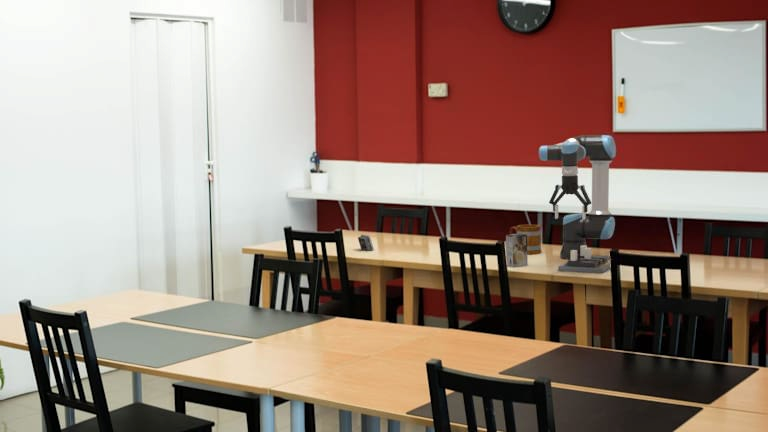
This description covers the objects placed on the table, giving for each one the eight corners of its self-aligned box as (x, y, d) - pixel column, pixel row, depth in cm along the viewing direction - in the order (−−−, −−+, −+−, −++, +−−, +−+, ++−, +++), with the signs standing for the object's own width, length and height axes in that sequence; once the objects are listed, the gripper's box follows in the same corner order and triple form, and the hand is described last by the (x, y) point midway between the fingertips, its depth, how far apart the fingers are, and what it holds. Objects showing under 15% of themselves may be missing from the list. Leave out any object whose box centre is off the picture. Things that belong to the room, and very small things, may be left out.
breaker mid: (586, 257, 513) (586, 248, 512) (591, 258, 511) (590, 248, 511) (584, 258, 510) (584, 248, 509) (589, 259, 509) (589, 249, 508)
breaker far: (582, 255, 522) (582, 245, 521) (586, 255, 520) (586, 245, 520) (580, 255, 519) (580, 246, 518) (585, 256, 518) (585, 246, 517)
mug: (546, 252, 563) (546, 225, 562) (531, 255, 554) (531, 228, 552) (517, 249, 577) (517, 223, 576) (502, 252, 568) (502, 225, 566)
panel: (574, 262, 528) (574, 254, 527) (616, 264, 517) (616, 256, 517) (558, 271, 505) (558, 262, 504) (601, 273, 495) (601, 264, 494)
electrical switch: (374, 250, 588) (372, 235, 586) (366, 252, 585) (364, 236, 584) (366, 248, 596) (364, 233, 594) (358, 250, 593) (356, 235, 592)
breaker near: (572, 259, 508) (572, 249, 507) (577, 260, 507) (577, 250, 506) (570, 260, 505) (570, 250, 504) (575, 261, 504) (575, 251, 503)
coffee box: (520, 263, 530) (520, 232, 528) (527, 265, 524) (527, 234, 522) (505, 265, 525) (505, 234, 523) (513, 267, 520) (512, 235, 518)
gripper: (542, 175, 494) (542, 218, 497) (593, 176, 482) (593, 220, 485) (547, 173, 500) (548, 217, 503) (597, 174, 489) (597, 218, 492)
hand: (570, 218), depth 494 cm, fingers open, 13 cm apart
